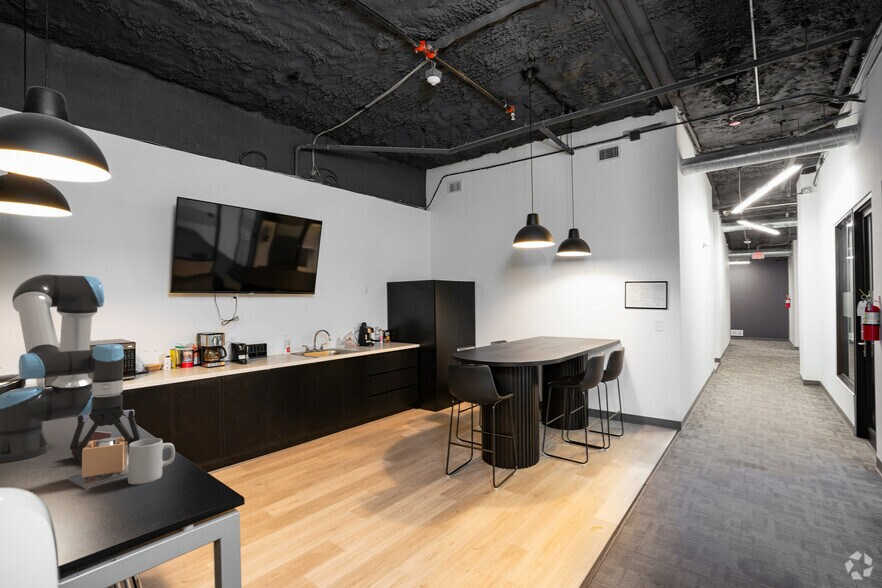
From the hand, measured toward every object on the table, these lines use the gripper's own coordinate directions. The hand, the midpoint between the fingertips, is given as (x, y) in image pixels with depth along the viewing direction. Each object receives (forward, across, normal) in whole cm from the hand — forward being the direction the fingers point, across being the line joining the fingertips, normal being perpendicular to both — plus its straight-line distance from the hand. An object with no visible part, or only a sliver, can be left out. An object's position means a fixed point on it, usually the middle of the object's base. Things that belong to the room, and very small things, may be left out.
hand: (105, 468), depth 129 cm
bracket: (+3, -5, +20) cm, 21 cm away
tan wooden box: (0, 0, 0) cm, 0 cm away
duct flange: (+3, 0, 0) cm, 3 cm away
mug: (+3, +13, -8) cm, 15 cm away
